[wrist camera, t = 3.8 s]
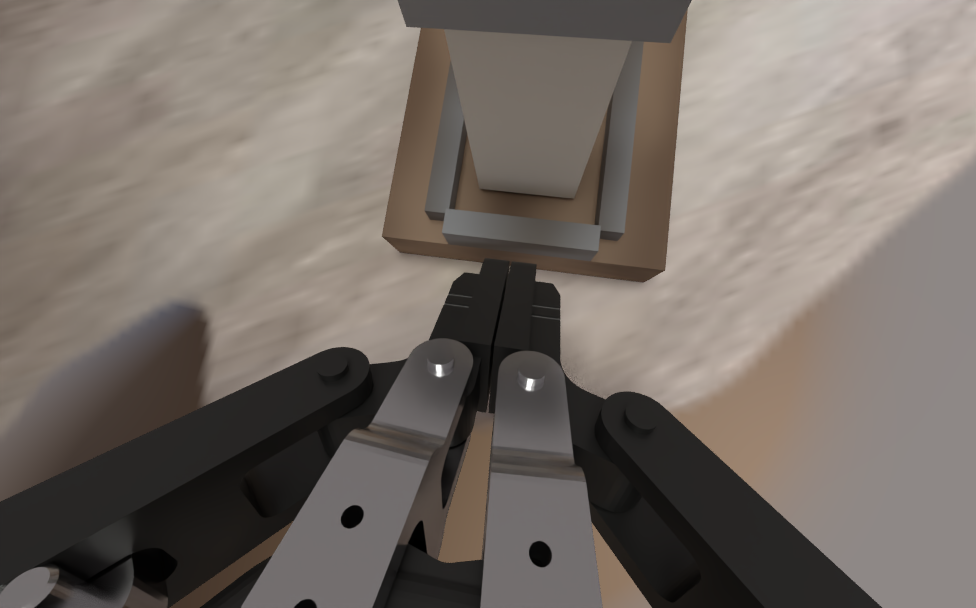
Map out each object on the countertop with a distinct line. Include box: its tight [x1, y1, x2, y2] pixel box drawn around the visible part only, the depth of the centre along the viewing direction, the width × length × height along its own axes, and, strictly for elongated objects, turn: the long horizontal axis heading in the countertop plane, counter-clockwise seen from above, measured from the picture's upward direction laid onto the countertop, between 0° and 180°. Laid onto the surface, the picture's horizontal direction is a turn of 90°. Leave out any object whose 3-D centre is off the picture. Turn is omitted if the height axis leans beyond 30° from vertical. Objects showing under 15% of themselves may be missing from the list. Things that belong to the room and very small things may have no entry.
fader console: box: [382, 9, 688, 282], centre depth 17 cm, size 12×24×4 cm, turn 172°
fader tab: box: [398, 0, 691, 199], centre depth 11 cm, size 5×4×10 cm
